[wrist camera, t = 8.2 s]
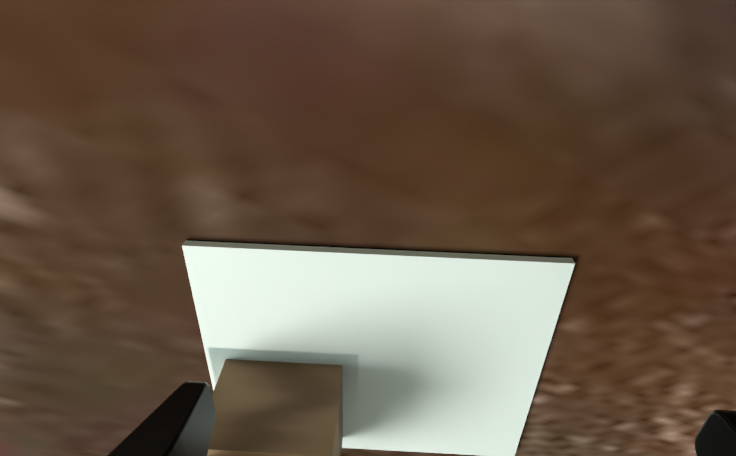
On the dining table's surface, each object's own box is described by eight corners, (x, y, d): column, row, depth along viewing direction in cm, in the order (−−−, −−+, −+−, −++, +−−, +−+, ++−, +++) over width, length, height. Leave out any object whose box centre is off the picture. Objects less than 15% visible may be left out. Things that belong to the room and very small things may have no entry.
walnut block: (342, 365, 25) (332, 456, 21) (342, 437, 28) (333, 528, 24) (225, 359, 25) (191, 448, 21) (239, 431, 28) (212, 521, 24)
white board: (572, 258, 21) (575, 263, 21) (512, 450, 29) (514, 457, 28) (185, 240, 22) (182, 245, 21) (226, 435, 29) (224, 441, 29)
